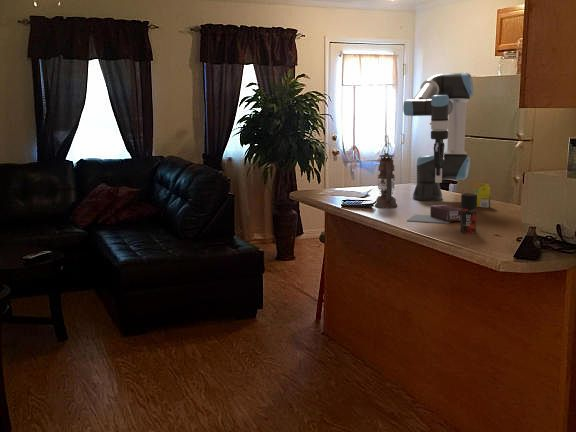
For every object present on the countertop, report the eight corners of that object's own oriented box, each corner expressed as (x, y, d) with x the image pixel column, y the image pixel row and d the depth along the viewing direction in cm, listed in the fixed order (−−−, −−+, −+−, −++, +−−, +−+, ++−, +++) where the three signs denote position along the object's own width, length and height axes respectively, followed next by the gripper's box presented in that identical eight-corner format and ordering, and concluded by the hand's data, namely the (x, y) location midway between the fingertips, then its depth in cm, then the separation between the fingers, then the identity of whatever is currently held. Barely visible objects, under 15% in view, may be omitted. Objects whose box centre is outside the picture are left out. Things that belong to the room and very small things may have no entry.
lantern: (393, 203, 318) (394, 134, 311) (400, 208, 302) (401, 136, 295) (372, 204, 317) (372, 134, 311) (378, 209, 301) (378, 136, 295)
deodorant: (473, 230, 250) (474, 193, 247) (477, 233, 244) (479, 195, 242) (458, 230, 250) (459, 193, 247) (462, 233, 244) (464, 195, 241)
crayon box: (490, 207, 302) (491, 183, 300) (488, 207, 300) (489, 183, 297) (475, 205, 306) (475, 182, 304) (473, 206, 304) (474, 183, 301)
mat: (415, 215, 285) (415, 214, 284) (455, 217, 277) (455, 216, 277) (406, 221, 271) (407, 220, 271) (449, 223, 264) (449, 222, 264)
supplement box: (429, 216, 280) (448, 222, 265) (429, 205, 279) (448, 211, 264) (446, 214, 282) (466, 220, 267) (447, 204, 282) (466, 209, 267)
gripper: (434, 129, 286) (433, 180, 291) (427, 131, 275) (427, 184, 279) (450, 129, 283) (449, 180, 288) (445, 131, 272) (444, 184, 276)
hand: (438, 182), depth 284 cm, fingers closed
